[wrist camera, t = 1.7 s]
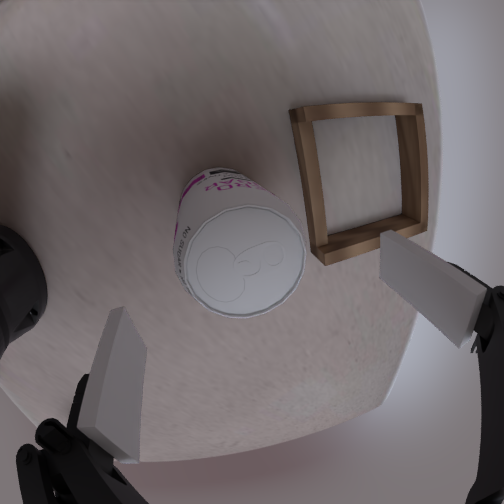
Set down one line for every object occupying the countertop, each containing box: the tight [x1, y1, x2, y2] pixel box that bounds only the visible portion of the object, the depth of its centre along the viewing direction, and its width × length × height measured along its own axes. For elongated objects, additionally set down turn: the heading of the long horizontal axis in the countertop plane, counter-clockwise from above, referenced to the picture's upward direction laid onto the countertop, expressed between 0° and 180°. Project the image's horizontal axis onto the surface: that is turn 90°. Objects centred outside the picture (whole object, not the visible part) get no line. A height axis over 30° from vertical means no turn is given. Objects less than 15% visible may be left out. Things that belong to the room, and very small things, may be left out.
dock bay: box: [289, 102, 428, 266], centre depth 29 cm, size 16×17×4 cm
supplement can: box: [173, 167, 306, 318], centre depth 22 cm, size 8×8×15 cm
